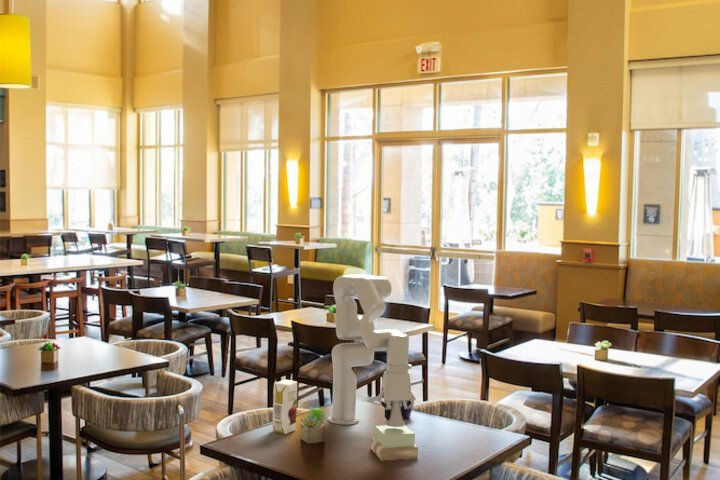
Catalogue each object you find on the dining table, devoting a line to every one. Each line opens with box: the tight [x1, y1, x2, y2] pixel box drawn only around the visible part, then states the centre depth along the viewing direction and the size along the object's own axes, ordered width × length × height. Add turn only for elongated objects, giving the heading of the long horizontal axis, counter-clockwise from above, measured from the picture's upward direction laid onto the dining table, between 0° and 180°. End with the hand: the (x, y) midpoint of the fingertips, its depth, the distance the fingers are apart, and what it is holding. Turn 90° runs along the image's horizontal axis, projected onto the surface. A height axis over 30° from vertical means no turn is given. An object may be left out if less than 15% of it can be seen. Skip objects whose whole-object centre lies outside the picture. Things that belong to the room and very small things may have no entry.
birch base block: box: [370, 436, 419, 462], centre depth 260 cm, size 13×13×4 cm
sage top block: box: [374, 424, 416, 448], centre depth 260 cm, size 11×11×4 cm
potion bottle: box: [400, 401, 415, 420], centre depth 306 cm, size 9×9×12 cm
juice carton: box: [272, 378, 298, 435], centre depth 281 cm, size 8×9×19 cm
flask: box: [384, 401, 406, 427], centre depth 259 cm, size 7×7×10 cm
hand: (395, 419), depth 260 cm, fingers closed on flask, 4 cm apart
